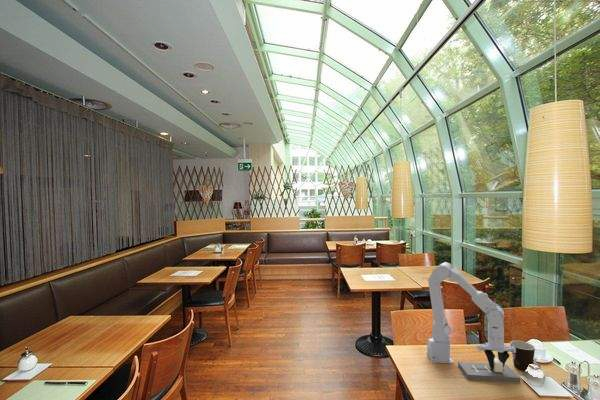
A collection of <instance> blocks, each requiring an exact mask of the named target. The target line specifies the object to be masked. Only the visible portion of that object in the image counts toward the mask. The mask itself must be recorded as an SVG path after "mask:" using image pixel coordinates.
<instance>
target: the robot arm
mask: <svg viewBox="0 0 600 400" xmlns="http://www.w3.org/2000/svg"><path fill="white" fill-rule="evenodd" d="M446 279H448V281H449V282H455V283H457V285H459V286H460V287H461V288H462V289H463V290H464V291H465V292H467V293H468V294H469V296H471V301H472V302H473V303H474V304H475V305H476V306H477V307H478V308H480V310H481V311H482V312H483V313H485V314H486V318H487V319H488V320H487V322H488V323H487V343H480V344H479V343H478V344H476V350H477V351H479V352H482V351H483V352H484V355H485V356H486V358H487V361H488V362H487V363H488V364H489V366H490V368H491V369H494V358H496V355H495V354H494V352H497V358H498V359H499V360H500V361H501V362H502V363H503V367H504V364H506V362H507V360H508V359H509V358H510V353H512V352H513V353H516V348H515V347H514V346H511V345H507V344H505V325H504V319H505V317H504V316H505V311H504V309H503V307H502V306H500V305H499V304H497V303H496V302H494V301H493V300H492V299H490V298H489V295H488V294H487V293H486V292H483V291H481V290H478V289H476V287H474V285H472V283H470V281H468V279H467V278H466V277H465V276H464V275H463V274H462V273H461V272H460V271H459V270H458V269H457V268H456V267H455V266H453V264H451V263H449V262H447V261H444V262H442V263H440V264H439V265H437V266H436V267H434V268H433V269H432V272H431V273H430V276H429V278H428V280H427V282H428V289H429V297H430V303H431V310H432V318H433V321H432V330H431V336H432V337H431V338H427V341H426V345H427V346H426V350H427V352H426V355H427V357H428V358H429V359H430V361H431V363H442V364H454V363H455V362H454V360H453V359H452V358H451V339H450V337H449V335H450V334H451V332H452V330H451V326H450V325H449V323H448V320H447V317H446V315H445V313H446V312H445V308H444V299H443V292H442V286H441V284H442V282H443V281H445V280H446Z"/></svg>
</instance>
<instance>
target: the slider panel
mask: <svg viewBox="0 0 600 400" xmlns="http://www.w3.org/2000/svg"><path fill="white" fill-rule="evenodd" d="M457 364H458V365H457V368H459V369H460V371H461V372H462V374H463V375H464V377H466V379H467V380H469V381H484V382H486V381H487V382H500V383H501V382H502V383H515V384H517V383H518V384H519V383H522V382H521V380H522V379H521V378H522V377H521V376H520V375H519V374H517V373H516V372H515V371H514V370H513V369H512V368H511V367H510V366H509V365H508V364H506V363H505V364H504V367H503V372H495V371H494V370H493V369H491V368H490V366H489V362H487V363H484V362H483V363H482V362H467V361H458V362H457Z"/></svg>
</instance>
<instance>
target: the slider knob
mask: <svg viewBox="0 0 600 400" xmlns="http://www.w3.org/2000/svg"><path fill="white" fill-rule="evenodd" d="M493 370H494V371H495V372H503V363H502V362H501V361H500V360H499V359H498V357H495V358H494V369H493Z"/></svg>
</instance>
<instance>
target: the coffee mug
mask: <svg viewBox="0 0 600 400" xmlns="http://www.w3.org/2000/svg"><path fill="white" fill-rule="evenodd" d="M510 346H514V347H515V348H516V353H513V352H511V355H512V361H513V362H512V363H513V368H515V369H516V370H518V371H520V372H523V373H526V372H525V370H526V369H527V367H528V365H529V364H533V365H534V358H535V350H536V346H534V345H533V344H531V343H529V342H526V341H523V340H522V341H521V340H512V341H510Z"/></svg>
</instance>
